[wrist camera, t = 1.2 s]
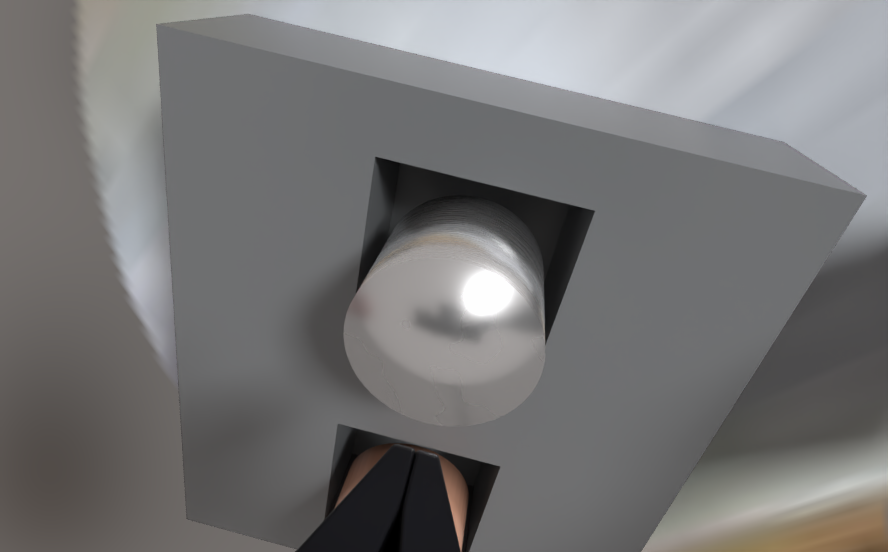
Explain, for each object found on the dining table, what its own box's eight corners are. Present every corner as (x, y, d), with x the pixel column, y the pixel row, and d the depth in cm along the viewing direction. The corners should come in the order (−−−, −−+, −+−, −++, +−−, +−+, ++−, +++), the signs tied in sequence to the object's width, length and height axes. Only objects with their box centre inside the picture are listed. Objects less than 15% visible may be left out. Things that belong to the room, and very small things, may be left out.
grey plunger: (565, 218, 15) (573, 290, 11) (519, 353, 17) (514, 446, 14) (397, 177, 15) (355, 235, 12) (374, 316, 17) (334, 399, 14)
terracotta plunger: (481, 462, 20) (469, 564, 16) (454, 541, 22) (439, 644, 19) (355, 429, 20) (317, 523, 17) (342, 511, 22) (306, 607, 19)
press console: (784, 142, 17) (866, 195, 13) (582, 526, 27) (591, 629, 23) (248, 13, 18) (156, 24, 14) (241, 435, 28) (186, 519, 24)
